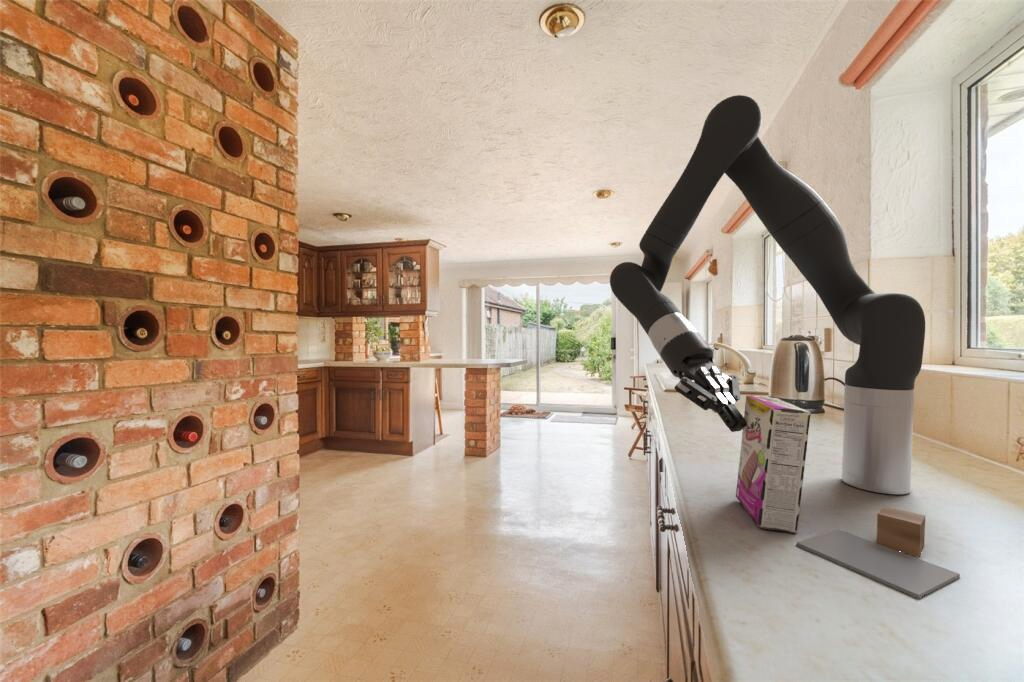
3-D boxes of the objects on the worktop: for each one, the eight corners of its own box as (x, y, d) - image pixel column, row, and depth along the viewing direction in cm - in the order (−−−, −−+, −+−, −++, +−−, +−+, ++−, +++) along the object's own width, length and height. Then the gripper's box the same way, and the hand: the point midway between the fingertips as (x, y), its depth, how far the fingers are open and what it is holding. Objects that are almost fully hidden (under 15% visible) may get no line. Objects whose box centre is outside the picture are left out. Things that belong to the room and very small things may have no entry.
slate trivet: (838, 531, 59) (838, 528, 59) (959, 577, 48) (959, 573, 48) (796, 545, 55) (796, 542, 55) (918, 598, 44) (918, 594, 44)
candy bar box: (732, 497, 70) (744, 394, 69) (767, 502, 69) (779, 398, 68) (757, 528, 59) (771, 406, 58) (798, 535, 58) (814, 411, 57)
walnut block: (882, 535, 58) (883, 505, 58) (924, 547, 55) (925, 515, 55) (876, 545, 55) (877, 513, 55) (919, 558, 52) (920, 524, 52)
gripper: (662, 329, 72) (725, 417, 61) (718, 329, 78) (785, 411, 67) (639, 359, 77) (694, 446, 66) (693, 358, 83) (752, 437, 72)
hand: (740, 428), depth 67 cm, fingers closed
